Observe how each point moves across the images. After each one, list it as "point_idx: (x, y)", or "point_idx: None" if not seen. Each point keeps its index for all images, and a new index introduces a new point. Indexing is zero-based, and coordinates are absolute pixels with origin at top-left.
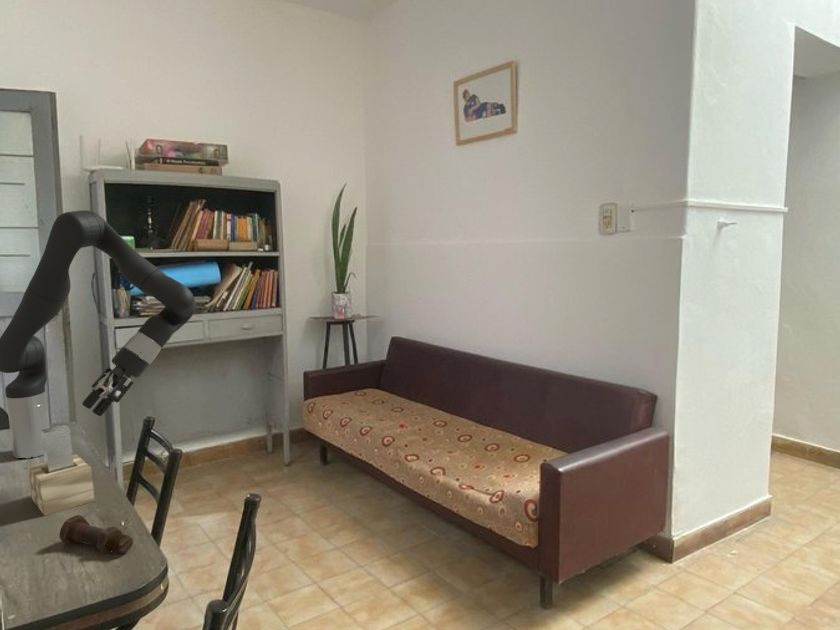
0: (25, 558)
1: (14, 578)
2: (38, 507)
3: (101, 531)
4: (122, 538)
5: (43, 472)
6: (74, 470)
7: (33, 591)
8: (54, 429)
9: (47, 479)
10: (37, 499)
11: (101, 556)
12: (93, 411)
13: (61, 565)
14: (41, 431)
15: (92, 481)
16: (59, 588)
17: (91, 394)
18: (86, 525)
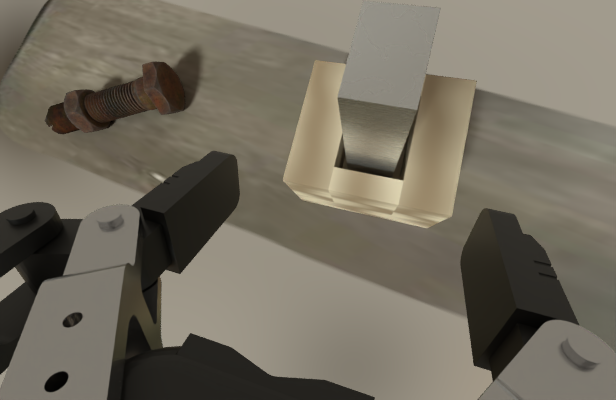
0: (197, 33)
1: (158, 7)
2: None
3: (92, 99)
4: (49, 111)
5: None
6: (306, 143)
7: (107, 13)
8: (384, 47)
9: (311, 75)
10: None
11: None
12: (214, 152)
13: (130, 57)
14: (428, 10)
15: (292, 189)
16: (83, 34)
17: (507, 287)
18: (128, 91)
